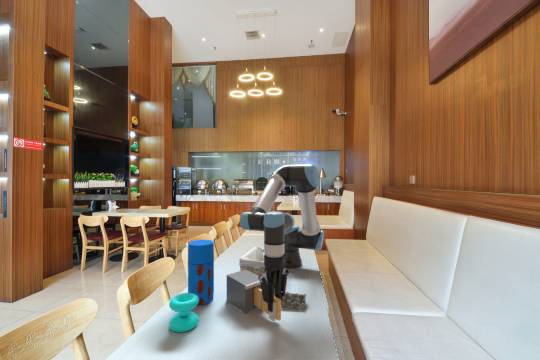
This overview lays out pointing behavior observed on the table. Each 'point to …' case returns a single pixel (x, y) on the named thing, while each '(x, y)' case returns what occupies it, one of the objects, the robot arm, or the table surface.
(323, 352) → the table surface
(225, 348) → the table surface
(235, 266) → the table surface
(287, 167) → the robot arm
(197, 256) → the thermos
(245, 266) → the storage basket
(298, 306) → the egg carton
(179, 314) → the turquoise hourglass spool
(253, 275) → the box
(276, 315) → the ticket
